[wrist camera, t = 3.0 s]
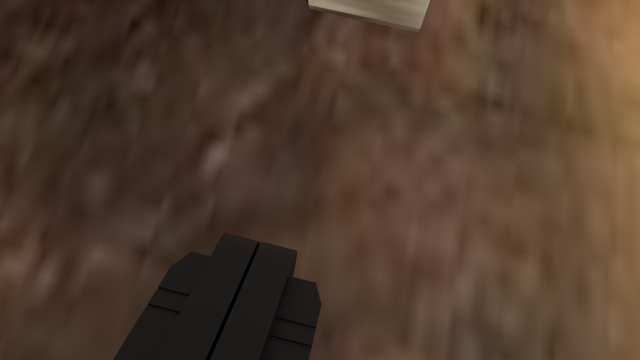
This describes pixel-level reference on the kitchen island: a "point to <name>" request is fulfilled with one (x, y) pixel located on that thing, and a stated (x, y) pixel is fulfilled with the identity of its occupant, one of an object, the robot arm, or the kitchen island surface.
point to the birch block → (378, 11)
